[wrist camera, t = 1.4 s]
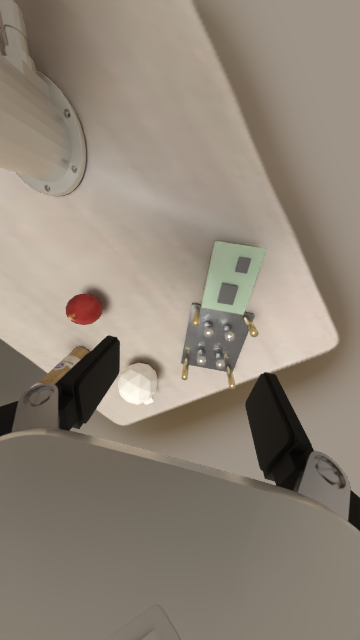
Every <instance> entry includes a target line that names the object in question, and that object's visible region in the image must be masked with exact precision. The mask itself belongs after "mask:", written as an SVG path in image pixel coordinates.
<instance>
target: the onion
mask: <svg viewBox="0 0 360 640" xmlns="http://www.w3.org/2000/svg"><path fill="white" fill-rule="evenodd" d="M101 314H102V306H101V304H100V302H99V301H98V300H97V299H96V298H95V297H93V296H91V295H88V294H79V295H76V296H74V297H73V298H72V299H70V300H69V302H68V304H67V306H66V315H67V317H68V318H69V320H71V321H72V322H74V323H76V324H81V325H87V324H91V323H93V322H95V321H96V320H98V319H99V317H100V316H101Z"/></svg>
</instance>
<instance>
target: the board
mask: <svg viewBox="0 0 360 640" xmlns="http://www.w3.org/2000/svg"><path fill="white" fill-rule="evenodd" d="M266 250H267V249H265V248H260V247H253V246H247V245H240V244H234V243H228V242H221V241H215V240H214V245H213V250H212V254H211V259H210V264H209V269H208V273H207V278H206V283H205V288H204V292H203V297H202V302H201V307H202V308H207V309H213V310H219V311H225V312H231V313H237V314H242V315H244V312H245V309H246V307H247V304H248V301H249V298H250V295H251V292H252V290H253V287H254V284H255V281H256V278H257V276H258V273H259V270H260V267H261V264H262V261H263V259H264V256H265V253H266Z"/></svg>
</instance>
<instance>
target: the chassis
mask: <svg viewBox="0 0 360 640" xmlns="http://www.w3.org/2000/svg"><path fill="white" fill-rule="evenodd" d="M254 316H255V315H254V314H253V313H247V312H244V315H242V314H237V313H231V312H225V311H219V310H213V309H207V308H202V307H201V305H200V304H194V303H192V307H191V312H190V318H189V323H188V329H187V334H186V340H185V345H184V350H183V356H182V361H181V363H182V364H183V371H182V379H183V380H186V379H187V377H188V367H189V365H193V366H199V367H204V368H209V369H215V370H220V371H226V372H227V376H228V382H229V387H230V388H231V389H234V388H235V387H236V386H235V382H234V377H233V373H232V372H233V369H234V367H235V364H236V362H237V359H238V357H239V354H240V351H241V349H242V346H243V344H244V341H245V339H246V336H247V334H248V331H249V332H250V334H251V336H252V337H256V336H257V335H258V331H257V329H256V328H255V326H254V324H253V323H252V321H253V318H254Z"/></svg>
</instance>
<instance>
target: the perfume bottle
mask: <svg viewBox="0 0 360 640" xmlns="http://www.w3.org/2000/svg"><path fill="white" fill-rule="evenodd" d="M157 384H158V380H157V375H156V371H154V370H153V369H152V368H151V367H150V366H149V365H148V364H143V363H136V364H133V365H129V366H128V367H127V368H126V369H125V370H124V371H123V372H122V374H121V376H120V379H119V381H118V388H119V393H120V395H121V396H122V397H123V398H124V399H125V400H126V401H127V402H130V403H133V404H137V405H138V404H140V403H143V402H144V404H145V405H147V404H150V403H152V402H154V396H153V395H154V393H155V392H156V388H157Z"/></svg>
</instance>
